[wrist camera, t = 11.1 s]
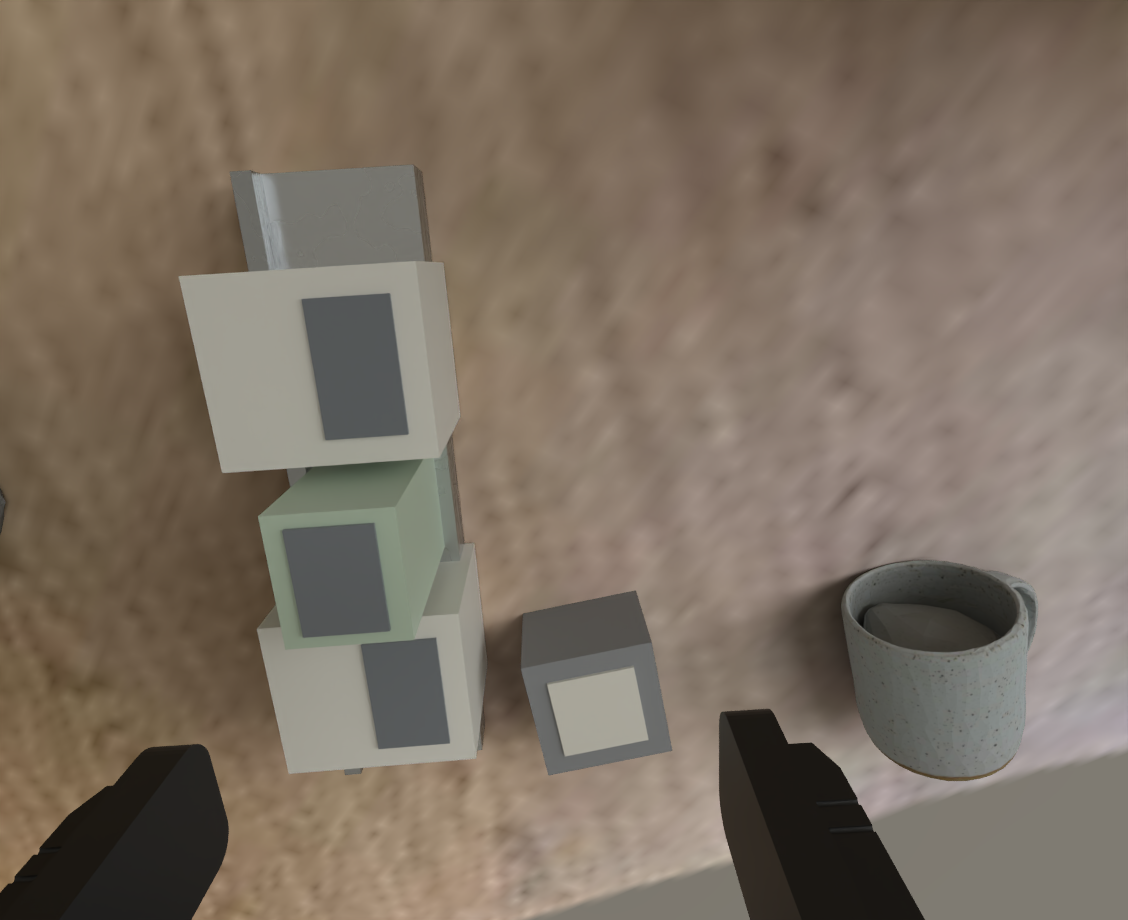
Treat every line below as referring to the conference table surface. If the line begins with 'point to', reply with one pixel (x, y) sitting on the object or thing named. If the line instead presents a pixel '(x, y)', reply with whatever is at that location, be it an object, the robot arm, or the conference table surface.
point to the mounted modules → (336, 437)
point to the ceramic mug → (941, 664)
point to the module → (354, 552)
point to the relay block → (593, 683)
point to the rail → (345, 258)
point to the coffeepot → (1, 509)
